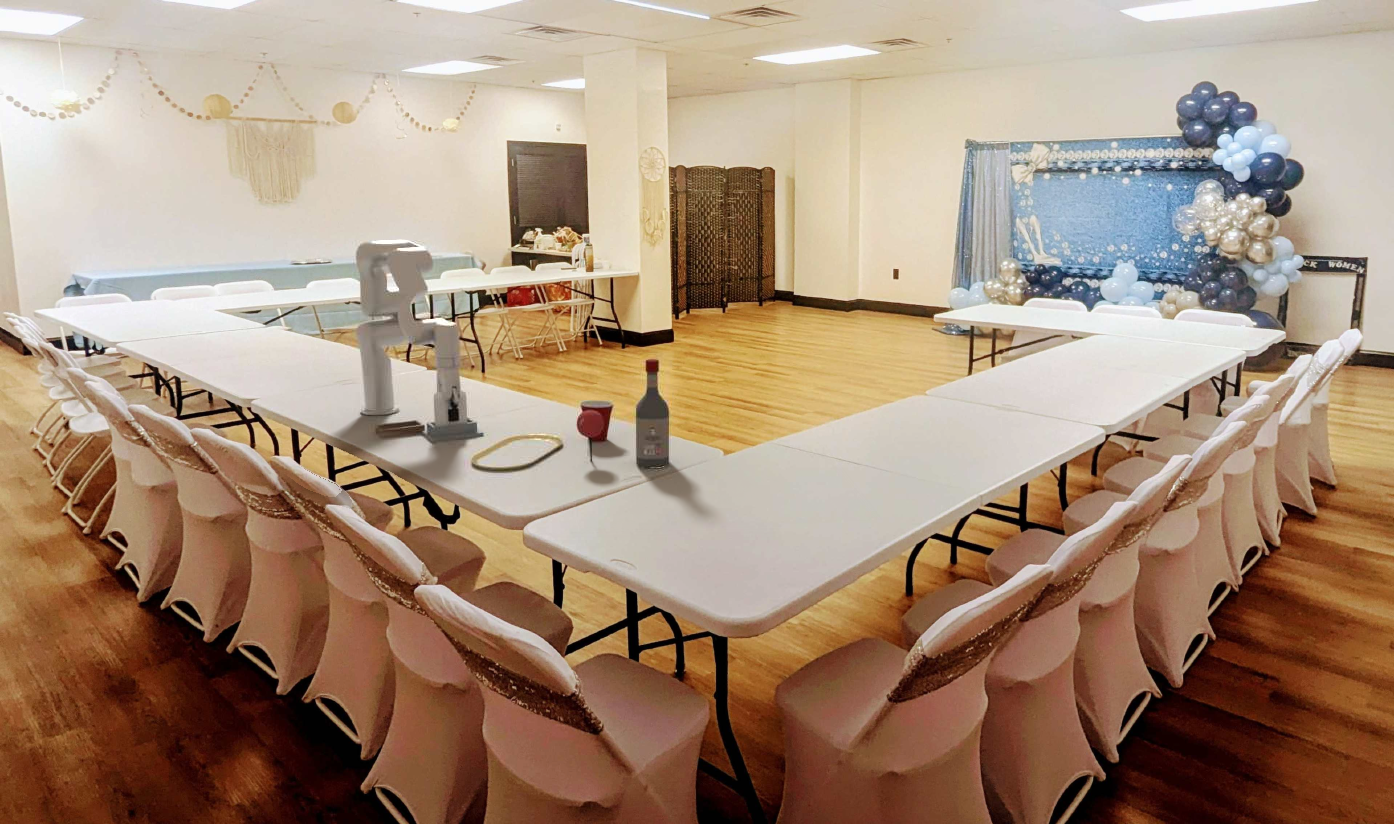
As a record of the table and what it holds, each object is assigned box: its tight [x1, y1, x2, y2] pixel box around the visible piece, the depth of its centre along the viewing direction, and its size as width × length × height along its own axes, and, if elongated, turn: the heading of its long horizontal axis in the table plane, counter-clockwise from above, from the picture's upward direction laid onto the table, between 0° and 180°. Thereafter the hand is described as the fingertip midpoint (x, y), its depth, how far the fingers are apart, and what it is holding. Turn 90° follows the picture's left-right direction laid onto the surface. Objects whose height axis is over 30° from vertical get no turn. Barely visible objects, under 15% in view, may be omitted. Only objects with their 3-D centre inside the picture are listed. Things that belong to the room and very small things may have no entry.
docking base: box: [421, 416, 484, 444], centre depth 285 cm, size 12×16×4 cm
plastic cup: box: [579, 399, 615, 443], centre depth 281 cm, size 11×11×12 cm
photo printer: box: [433, 389, 468, 427], centre depth 284 cm, size 10×4×12 cm, turn 123°
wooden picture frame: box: [374, 419, 426, 439], centre depth 287 cm, size 8×14×2 cm, turn 122°
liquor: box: [635, 358, 670, 469], centre depth 254 cm, size 9×9×30 cm
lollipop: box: [576, 410, 604, 462], centre depth 258 cm, size 8×8×15 cm
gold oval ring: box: [470, 433, 564, 471], centre depth 267 cm, size 19×35×2 cm, turn 163°
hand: (451, 418), depth 285 cm, fingers closed on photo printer, 4 cm apart
